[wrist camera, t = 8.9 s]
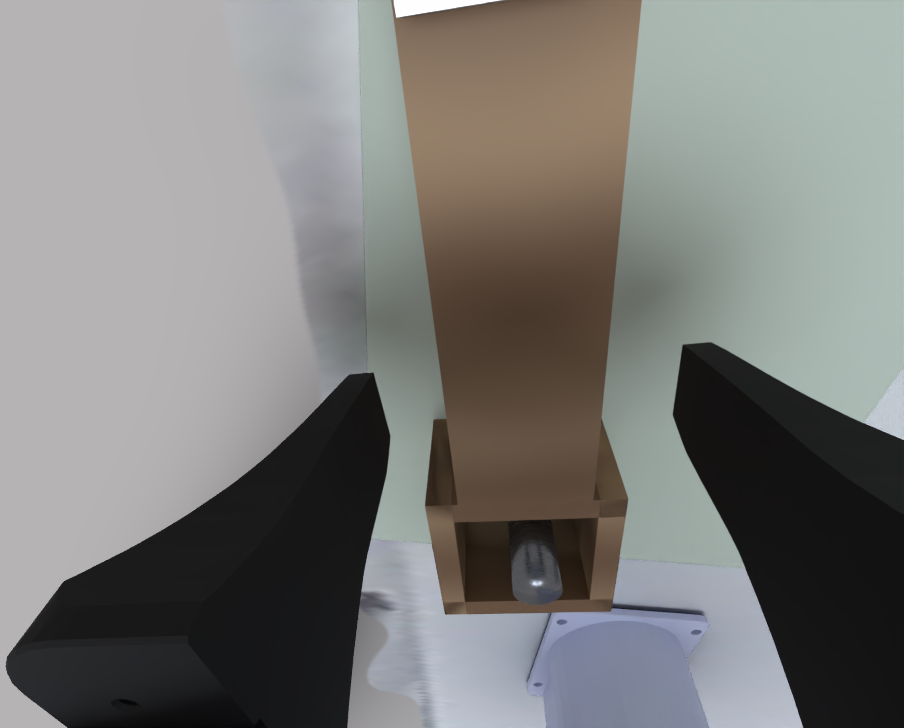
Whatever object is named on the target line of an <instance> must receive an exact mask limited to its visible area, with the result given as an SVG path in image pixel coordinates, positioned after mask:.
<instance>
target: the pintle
mask: <svg viewBox="0 0 904 728" xmlns="http://www.w3.org/2000/svg"><path fill="white" fill-rule="evenodd" d="M508 532H509V546H510V560H511V574H512V588H513V595H514V597H515V598H516V599H517V600H519V601H521V602H523V603H526V604H530V605H543V604H548V603H551V602H553V601H555V600H557V599H558V598H559V597H560V596H561V595H562V592H563V589H562V582H561V576H560V570H559V564H558V557H557V551H556V545H555V539H554V533H553V526H552V520H551V519H546V520H515V521H508Z"/></svg>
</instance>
